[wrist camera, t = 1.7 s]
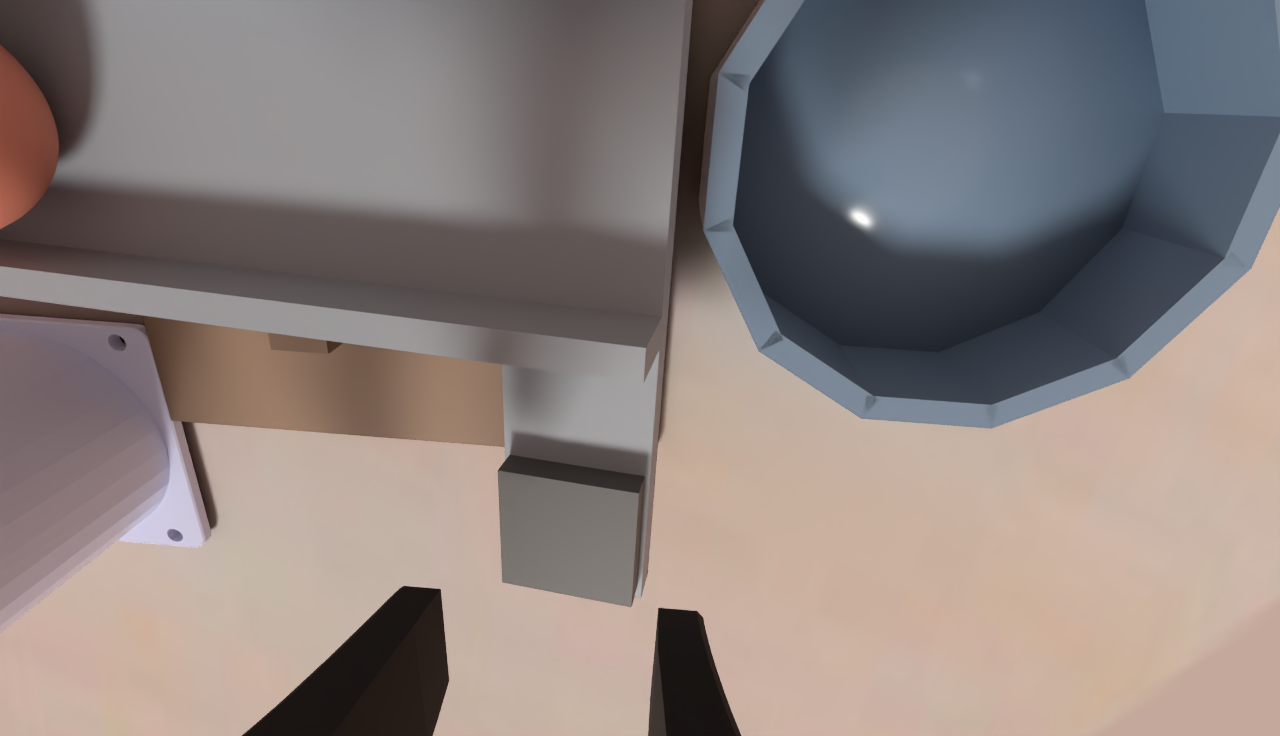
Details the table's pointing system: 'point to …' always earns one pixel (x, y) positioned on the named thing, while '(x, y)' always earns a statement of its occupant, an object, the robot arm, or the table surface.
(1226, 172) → the bowl
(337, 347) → the catapult base
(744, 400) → the table surface
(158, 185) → the lever
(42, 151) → the ball
